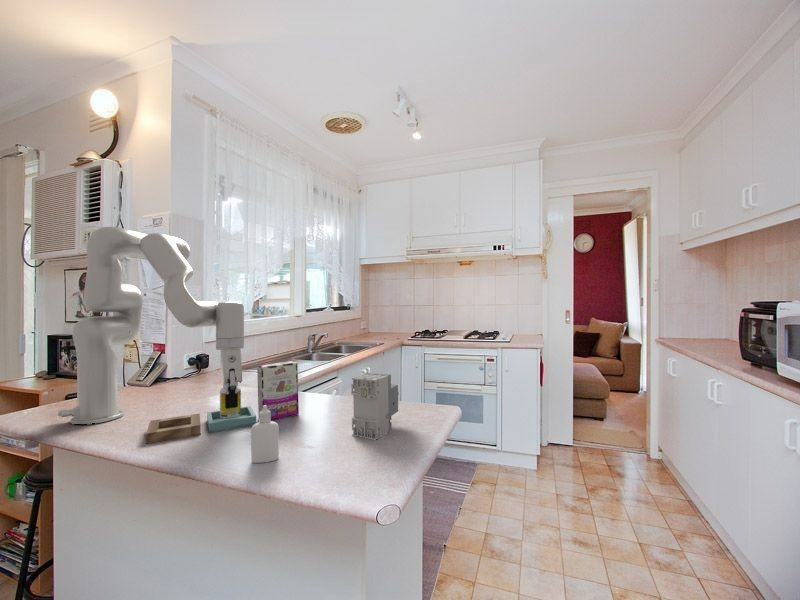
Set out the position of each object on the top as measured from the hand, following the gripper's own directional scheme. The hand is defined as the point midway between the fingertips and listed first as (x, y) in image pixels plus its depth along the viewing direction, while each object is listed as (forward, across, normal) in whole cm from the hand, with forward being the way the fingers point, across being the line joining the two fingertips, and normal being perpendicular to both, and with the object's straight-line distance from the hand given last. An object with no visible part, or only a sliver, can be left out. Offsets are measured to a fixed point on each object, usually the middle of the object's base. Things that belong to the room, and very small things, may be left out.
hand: (230, 404), depth 105 cm
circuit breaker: (+5, -28, -34) cm, 45 cm away
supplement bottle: (+4, 0, 0) cm, 4 cm away
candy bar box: (+6, -2, -13) cm, 14 cm away
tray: (+5, 0, 0) cm, 5 cm away
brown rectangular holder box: (+5, 0, +14) cm, 15 cm away
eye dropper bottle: (+5, -32, -4) cm, 33 cm away
